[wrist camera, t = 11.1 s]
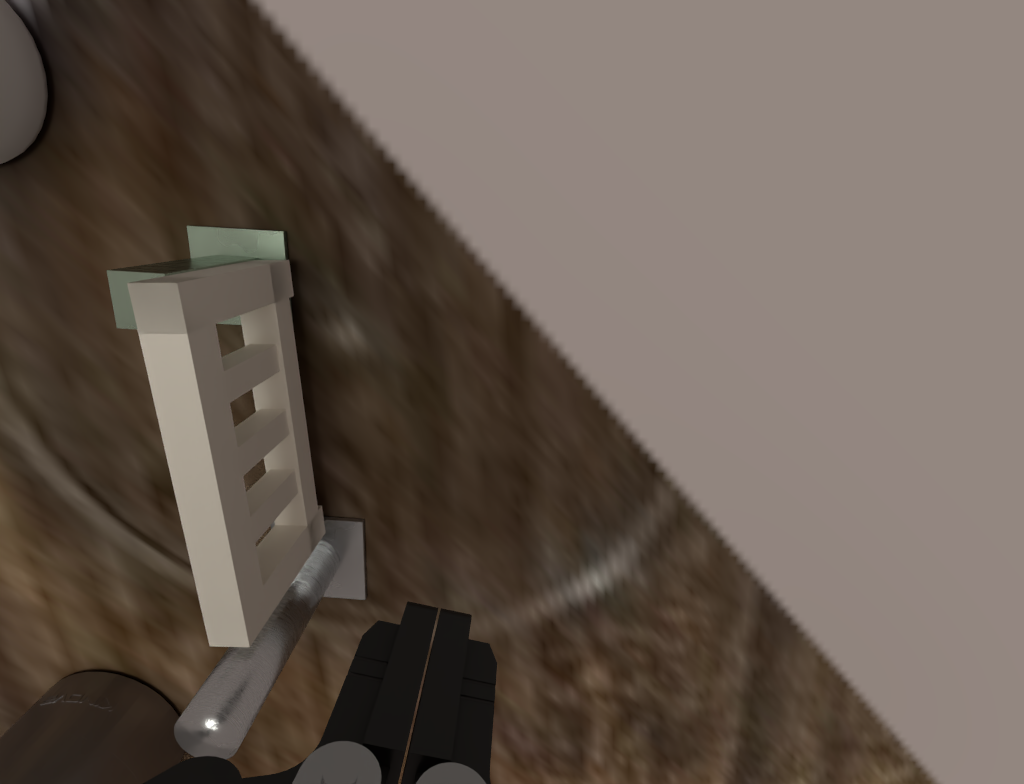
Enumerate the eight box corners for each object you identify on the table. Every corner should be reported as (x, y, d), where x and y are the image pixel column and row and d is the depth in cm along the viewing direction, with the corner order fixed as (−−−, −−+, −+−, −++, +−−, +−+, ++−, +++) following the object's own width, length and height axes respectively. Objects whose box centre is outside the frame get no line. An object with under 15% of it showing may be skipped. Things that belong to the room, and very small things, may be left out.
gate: (325, 532, 29) (249, 647, 21) (295, 531, 29) (209, 646, 21) (289, 259, 24) (177, 282, 17) (254, 260, 25) (126, 283, 17)
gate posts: (367, 596, 31) (280, 792, 21) (236, 586, 31) (85, 775, 21) (353, 235, 25) (219, 254, 14) (190, 225, 25) (-59, 237, 15)
